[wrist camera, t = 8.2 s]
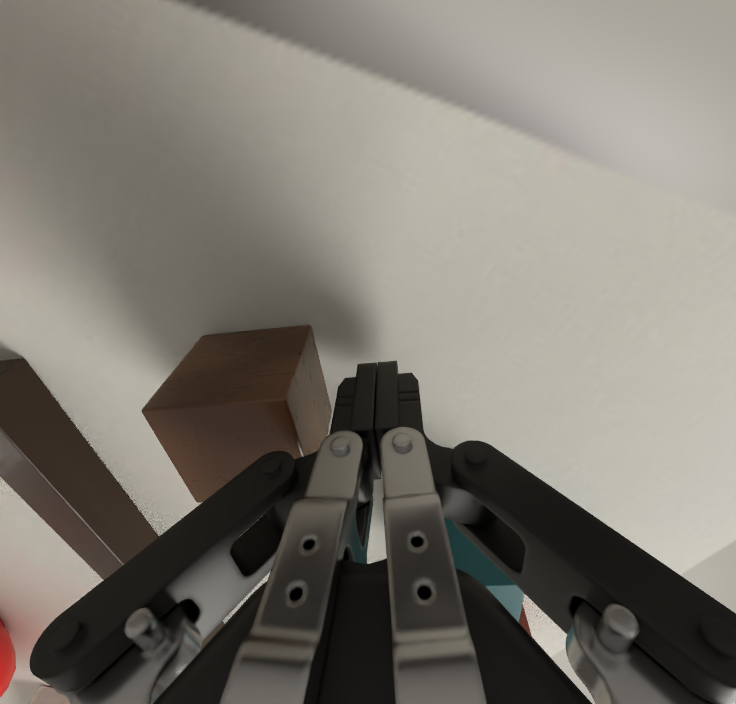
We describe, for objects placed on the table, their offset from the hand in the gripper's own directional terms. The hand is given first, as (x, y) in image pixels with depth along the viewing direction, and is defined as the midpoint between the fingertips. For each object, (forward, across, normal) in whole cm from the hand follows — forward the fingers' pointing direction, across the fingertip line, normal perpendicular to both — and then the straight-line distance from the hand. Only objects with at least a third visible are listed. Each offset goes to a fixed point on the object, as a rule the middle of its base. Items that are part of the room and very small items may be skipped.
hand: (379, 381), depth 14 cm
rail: (+1, +16, +20) cm, 26 cm away
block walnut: (+1, +5, 0) cm, 5 cm away
